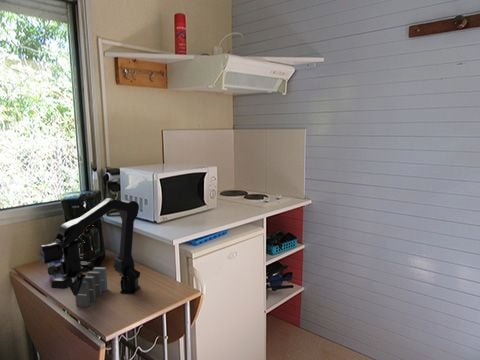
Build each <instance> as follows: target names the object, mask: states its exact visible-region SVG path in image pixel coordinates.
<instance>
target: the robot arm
mask: <svg viewBox="0 0 480 360" xmlns="http://www.w3.org/2000/svg"><path fill="white" fill-rule="evenodd" d="M139 209H140V204H139V203H138V202H137V201H135V200H132V199H122V200H119V199H116V198H115V199H114V198H112V197H107V198H105V199H104V200H103V201H101V202H100V203H98V204H97V205H95V207H93V208H91V209H90V210H89V211H87V212H86V213H84V214H82V215H81V216H80V217H77V218H74V219H71V220H69V221H67V222H64V223H62V224H61V225H60V226H59V228H58V233H57V235H56V236H55V237H54V238H53V239H54V240H52V241H53V242H51V243H49V244H42V245H40V247H39V248H40V249H39V253H38V258H39V261H40V264H41V265H42V266H45V265H48V263H52V262H55V261H59V260H61V259H62V258H64V260H62V261H61V263H59V264H57V265H53V266H50V267H48V266H47V274H48V276H49V275H50V276H51V275H52V276H55V275H57V274H60V273H61V275H64V274H66V276H65V277H62V276H59V277H57V278H56V279H54V280H53V281H52V280H51V282H50V288H51V289H56V290H57V289H58V290H59V289H61V290H65V289H68V288H69V289H70V291H71V293H72V294H73V295H72V296H74V297H75V296H77V295H78V293H79V290H80V288H81V285H82V283H83V280H84V278H85V276H87V273H86V274H84V273H83V271H85V270H86V269H87V270H88V272H89V271H93V269H94V268H95V264H94V262H87V261H81V260H83V257H80V248H79V244H81V243H85V241H84V240H82V239H81V238H80V236H81V235H82V234H83V233H84V231H85V229H86V228H87V227H88V226H90V225H92V224H94V223H95V222H96V221H98V220H99V219H101V218H102V217H103V216H105V215H106V214H108V213H109V212H110V211H112V210H118V211H119V217H120V218H121V228H120V229H121V231H120V242H119V243H120V245H119V254H118V256H117V257H114V258H113V268H114V271H115V272H116V273H117V274H118V275H119V276H120V282H119V284H120V291H119V292H120V294H136V292H137V291H138V290H140V288H141V285H139V278H140V276H141V272H140V271H139V270H137V269H136V268H135V261H134V259H133V255H132V253H133V238H134V224H135V220H136V219H137V217H138V215H139Z"/></svg>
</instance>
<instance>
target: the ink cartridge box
mask: <svg viewBox="0 0 480 360" xmlns="http://www.w3.org/2000/svg"><path fill="white" fill-rule="evenodd" d="M62 260H64V258H62V259H61V260H59V261H55V262H52V263H48V264H47V268H48V267H50V266H53V265H57V264H59V263H61V261H62ZM59 276H62V277H65V276H66V274H64V275H61V273H60V274H57V275H55V276H52V275H51V276H50V275H49V274H48V277H49V278H48V279H49V280H50V281H51V282H52V281H53V280H54V279H56V278H57V277H59Z"/></svg>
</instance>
